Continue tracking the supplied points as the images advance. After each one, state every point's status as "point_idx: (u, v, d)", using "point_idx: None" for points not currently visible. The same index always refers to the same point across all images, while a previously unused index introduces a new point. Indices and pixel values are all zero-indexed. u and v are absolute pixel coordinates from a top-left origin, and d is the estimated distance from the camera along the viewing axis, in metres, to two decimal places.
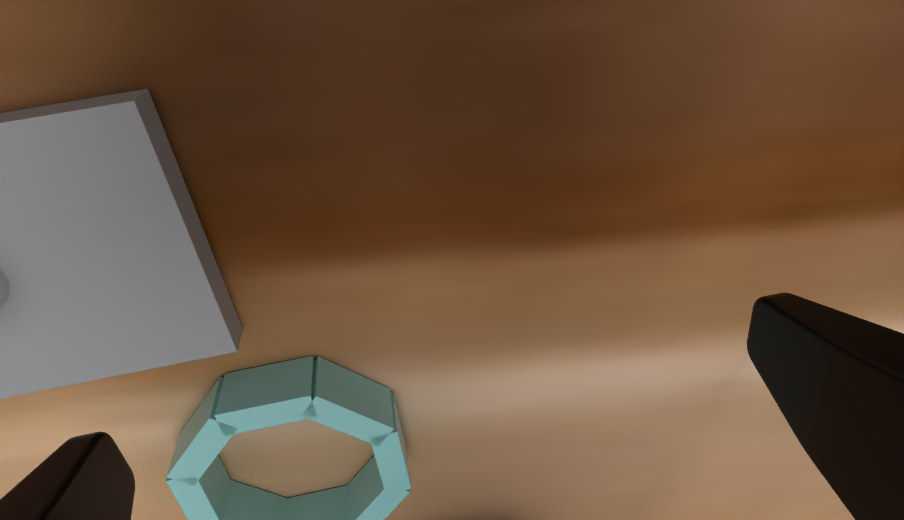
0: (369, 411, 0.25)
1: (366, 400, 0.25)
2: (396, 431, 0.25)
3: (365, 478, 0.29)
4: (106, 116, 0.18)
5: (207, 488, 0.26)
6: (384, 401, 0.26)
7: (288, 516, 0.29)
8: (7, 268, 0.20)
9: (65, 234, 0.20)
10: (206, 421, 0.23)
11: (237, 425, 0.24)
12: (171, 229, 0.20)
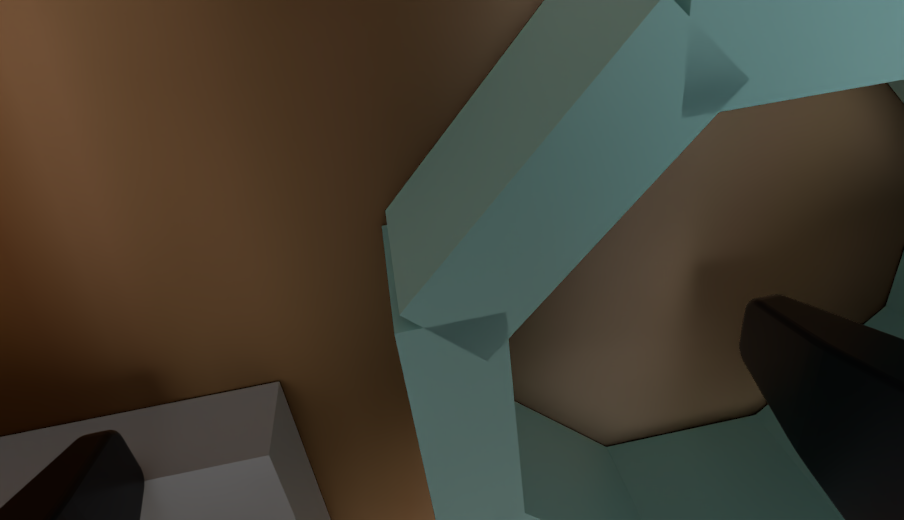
0: (552, 101, 0.06)
1: (526, 95, 0.06)
2: None
3: None
4: None
5: None
6: (575, 8, 0.06)
7: None
8: None
9: None
10: None
11: (492, 505, 0.08)
12: None
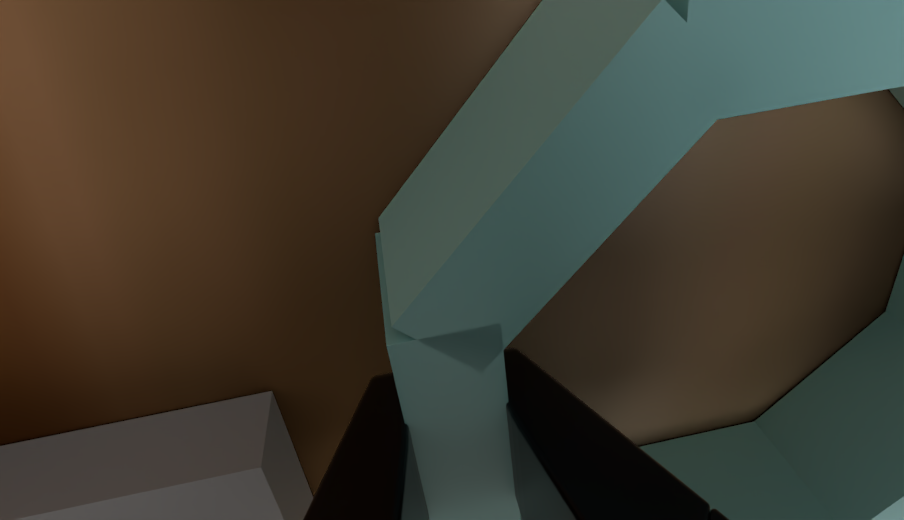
0: (546, 108, 0.05)
1: (520, 102, 0.06)
2: None
3: None
4: None
5: None
6: (570, 13, 0.06)
7: None
8: None
9: None
10: None
11: (488, 518, 0.08)
12: None
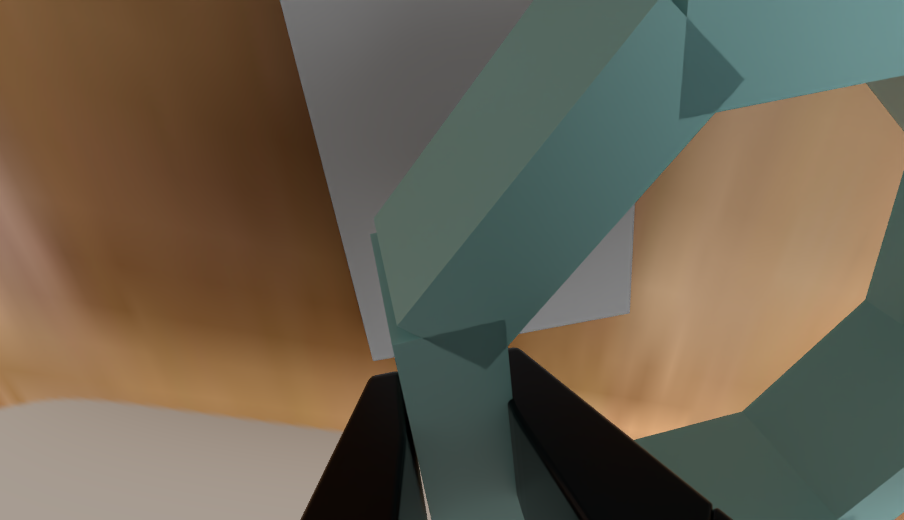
0: (548, 104, 0.06)
1: (519, 98, 0.06)
2: None
3: None
4: None
5: None
6: (566, 10, 0.06)
7: None
8: None
9: (432, 35, 0.16)
10: None
11: (491, 515, 0.08)
12: None
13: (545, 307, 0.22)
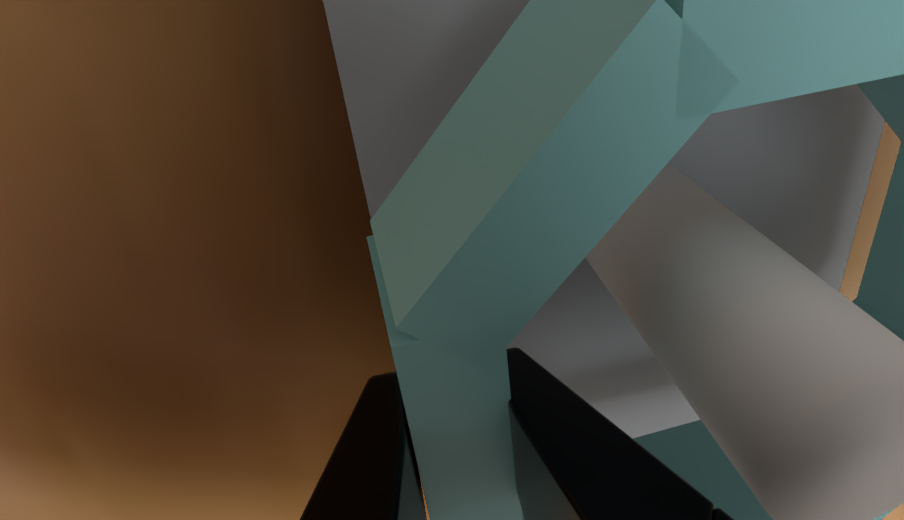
0: (545, 106, 0.06)
1: (516, 100, 0.06)
2: None
3: (903, 96, 0.08)
4: None
5: None
6: (561, 13, 0.06)
7: None
8: None
9: None
10: None
11: (490, 516, 0.08)
12: None
13: None
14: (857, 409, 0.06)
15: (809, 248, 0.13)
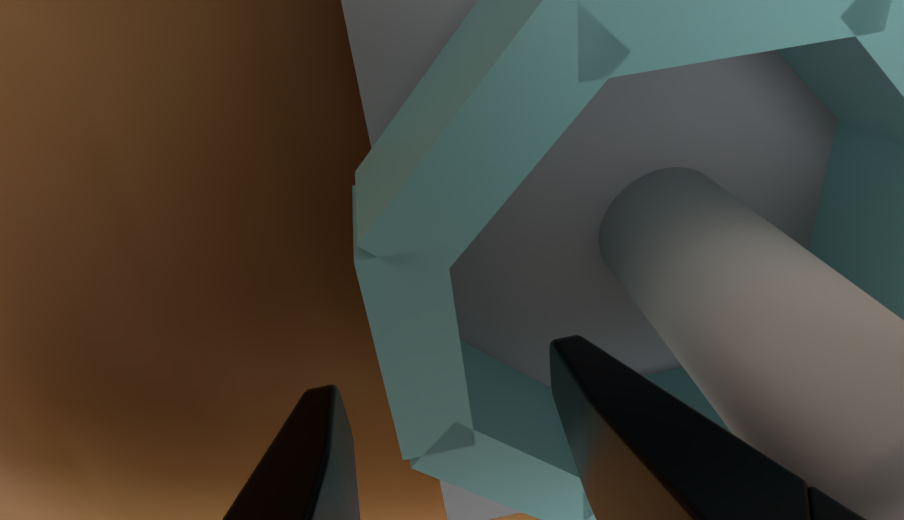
0: (476, 69, 0.07)
1: (461, 67, 0.08)
2: None
3: (820, 75, 0.09)
4: None
5: None
6: None
7: None
8: (650, 159, 0.10)
9: None
10: (422, 472, 0.10)
11: (444, 421, 0.09)
12: None
13: None
14: None
15: None
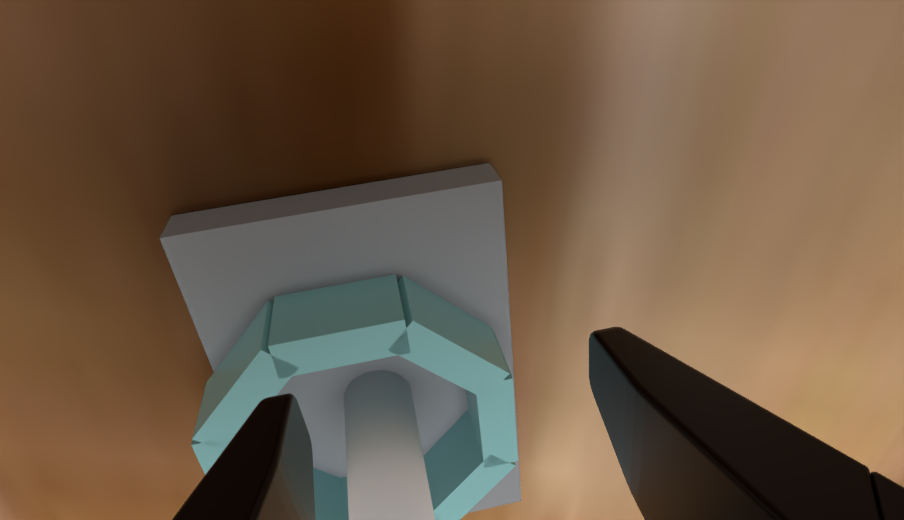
0: (239, 370, 0.17)
1: (239, 360, 0.17)
2: (271, 344, 0.16)
3: None
4: (182, 264, 0.17)
5: None
6: (258, 328, 0.17)
7: (474, 428, 0.21)
8: (363, 368, 0.20)
9: None
10: None
11: None
12: (318, 226, 0.17)
13: None
14: None
15: None
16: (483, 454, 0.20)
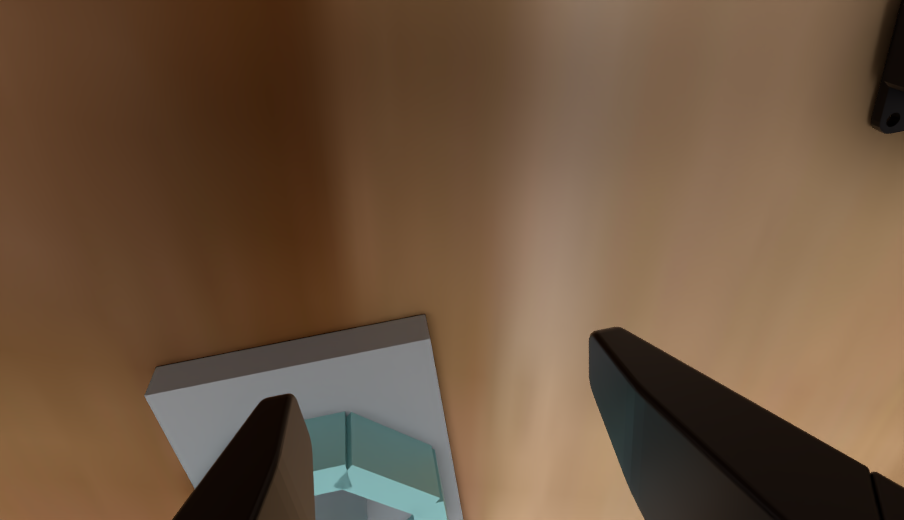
0: None
1: None
2: None
3: None
4: (164, 413, 0.21)
5: None
6: None
7: None
8: None
9: None
10: None
11: None
12: (276, 380, 0.21)
13: None
14: None
15: None
16: None
